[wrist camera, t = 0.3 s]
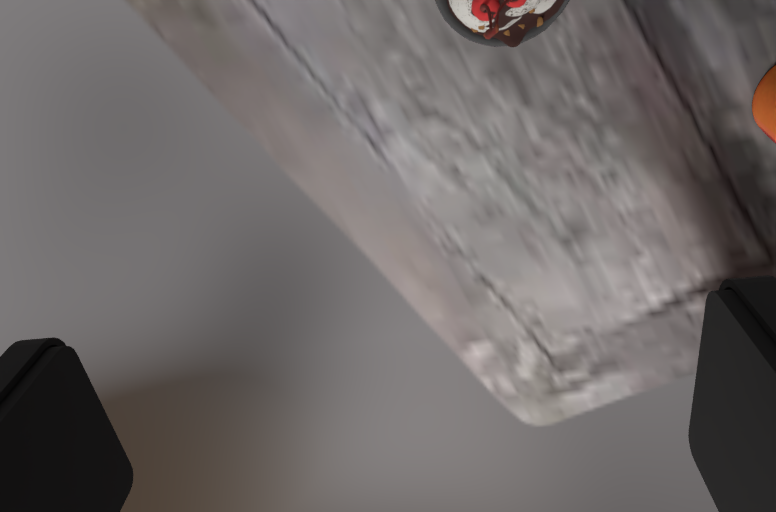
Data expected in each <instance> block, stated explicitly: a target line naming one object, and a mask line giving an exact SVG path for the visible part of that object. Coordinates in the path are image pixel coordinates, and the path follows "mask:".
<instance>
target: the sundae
mask: <svg viewBox="0 0 776 512" xmlns="http://www.w3.org/2000/svg"><path fill="white" fill-rule="evenodd" d="M435 1H436V4H437V6H438V9H439V11H440V13H441V14H442V16H443V18H444V20H445V21H446V22H447V23H448V24H449V25H450V26H451V28H453V29H454V30H455V31H456V32H457V33H459V34H460V35H462V36H463V37H465V38H467V39H468V40H470V41H473V42H476V43H479V44H483V45H488V46H493V47H499V46H510V47H516V46H518V45H519V44H520V43H523V42H525V41H527V40H529V39H531V38H533V37H535V36H536V35H538V34H540V33H541V32H543V31H544V30H545V29H547V28H548V27H549V26H550V25H551V24H552V23H553V22H554V21H555V20H556V18H557V17H558V16H559V15H560V14H561V13H562V11H563V10H564V8H565V7H566V5H567V4H568V2H569V0H435Z"/></svg>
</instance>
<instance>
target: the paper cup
mask: <svg viewBox="0 0 776 512" xmlns="http://www.w3.org/2000/svg"><path fill="white" fill-rule="evenodd" d="M752 112H753V116H754V119H755V121H756V123H757V124H758V126H759V127H760V128H761V129H762V131H763V132H764V133H765V134H766V135H767V136H768V137H769V138H770V139H771V140H772V141H773V142H775V143H776V65H775V66H774V67H772V68H771V69H770V70H769V71H768V72H767V73H766V74H765V76H764V77H763V78H762V80H761V81H760V83H759V84H758V86H757V88H756V90H755V93H754V96H753V101H752Z"/></svg>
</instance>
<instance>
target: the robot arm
mask: <svg viewBox="0 0 776 512" xmlns="http://www.w3.org/2000/svg"><path fill="white" fill-rule="evenodd" d="M689 443H690V449H691V452H692V456H693V458H694V461H695V462H696V465H697V467H698V469H699V471H700V473H701V475H702V477H703V479H704V482H705V484H706V486H707V488H708V490H709V492H710V494H711V496H712V498H713V500H714V502H715V505H716V507H717V509H718V511H719V512H776V278H774V277H773V276H757V277H745V278H734V279H726V280H724V281H723V282H722V284H721V285H720V288H719V290H718V291H711V292H709V294H708V296H707V299H706V305H705V313H704V320H703V328H702V335H701V343H700V350H699V358H698V365H697V373H696V380H695V388H694V396H693V403H692V412H691V419H690V426H689ZM132 483H133V469H132V466H131V463H130V461H129V459H128V457H127V455H126V453H125V451H124V449H123V447H122V445H121V443H120V441H119V439H118V437H117V435H116V433H115V431H114V429H113V427H112V425H111V423H110V421H109V419H108V417H107V415H106V413H105V410H104V408H103V406H102V404H101V402H100V400H99V398H98V396H97V394H96V392H95V390H94V388H93V386H92V384H91V382H90V380H89V378H88V376H87V373H86V372H85V370H84V368H83V365H82V363H81V362H80V359H79V357H78V355H77V353H76V352H75V350H74V349H73V348H71V347H69V346H66V345H65V343H64V342H63V341H61V340H60V339H58V338H43V339H32V340H22V341H17V342H15V343H14V344H12V345H11V346H10V347H9V348H8V349H7V350H6V351H5V352H4V353H3V354H2V356H1V357H0V512H120V510H121V508H122V506H123V504H124V502H125V500H126V498H127V496H128V494H129V492H130V490H131V487H132Z"/></svg>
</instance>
